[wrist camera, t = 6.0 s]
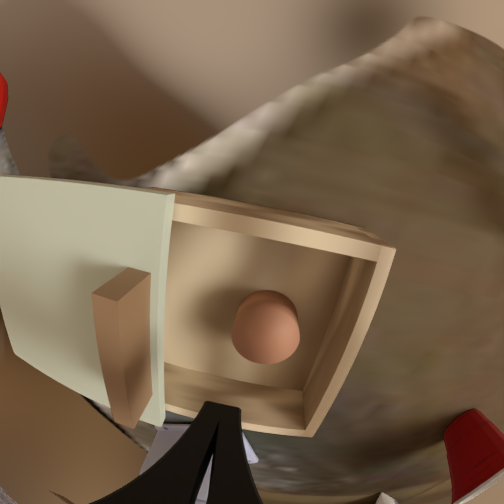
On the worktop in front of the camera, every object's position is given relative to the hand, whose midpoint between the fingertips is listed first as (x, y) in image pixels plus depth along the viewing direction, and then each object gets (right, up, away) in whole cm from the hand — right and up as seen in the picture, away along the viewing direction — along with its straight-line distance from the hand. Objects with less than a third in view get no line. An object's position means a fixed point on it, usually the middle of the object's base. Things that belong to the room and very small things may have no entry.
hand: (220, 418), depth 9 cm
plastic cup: (+29, -16, +12) cm, 35 cm away
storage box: (0, +3, +9) cm, 10 cm away
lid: (-11, +4, +5) cm, 12 cm away
